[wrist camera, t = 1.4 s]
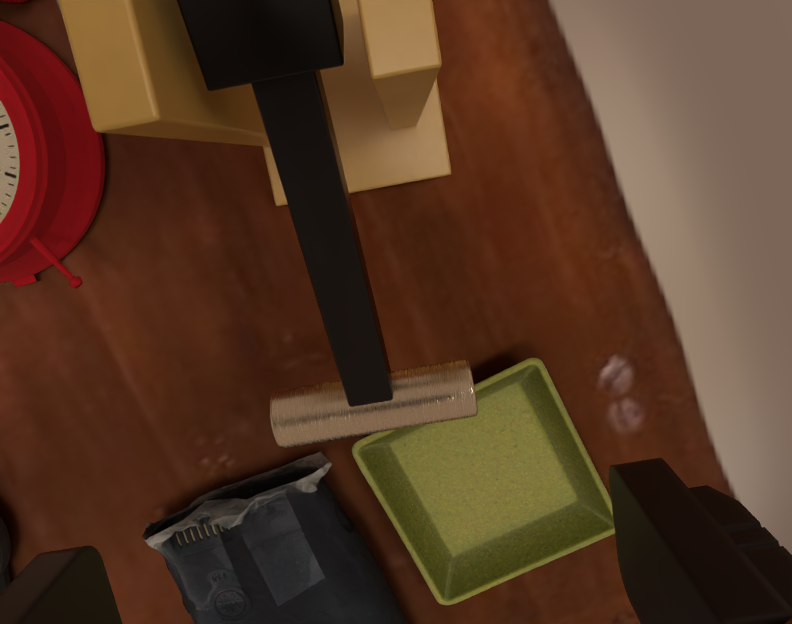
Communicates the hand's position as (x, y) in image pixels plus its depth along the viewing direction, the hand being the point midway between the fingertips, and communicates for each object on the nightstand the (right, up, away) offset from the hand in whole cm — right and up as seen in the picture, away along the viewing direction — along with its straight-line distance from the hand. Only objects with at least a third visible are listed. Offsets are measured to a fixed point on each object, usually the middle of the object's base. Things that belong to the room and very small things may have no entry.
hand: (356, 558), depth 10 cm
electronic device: (-4, -10, +21) cm, 24 cm away
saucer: (+4, -3, +20) cm, 20 cm away
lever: (-1, +6, +4) cm, 8 cm away
